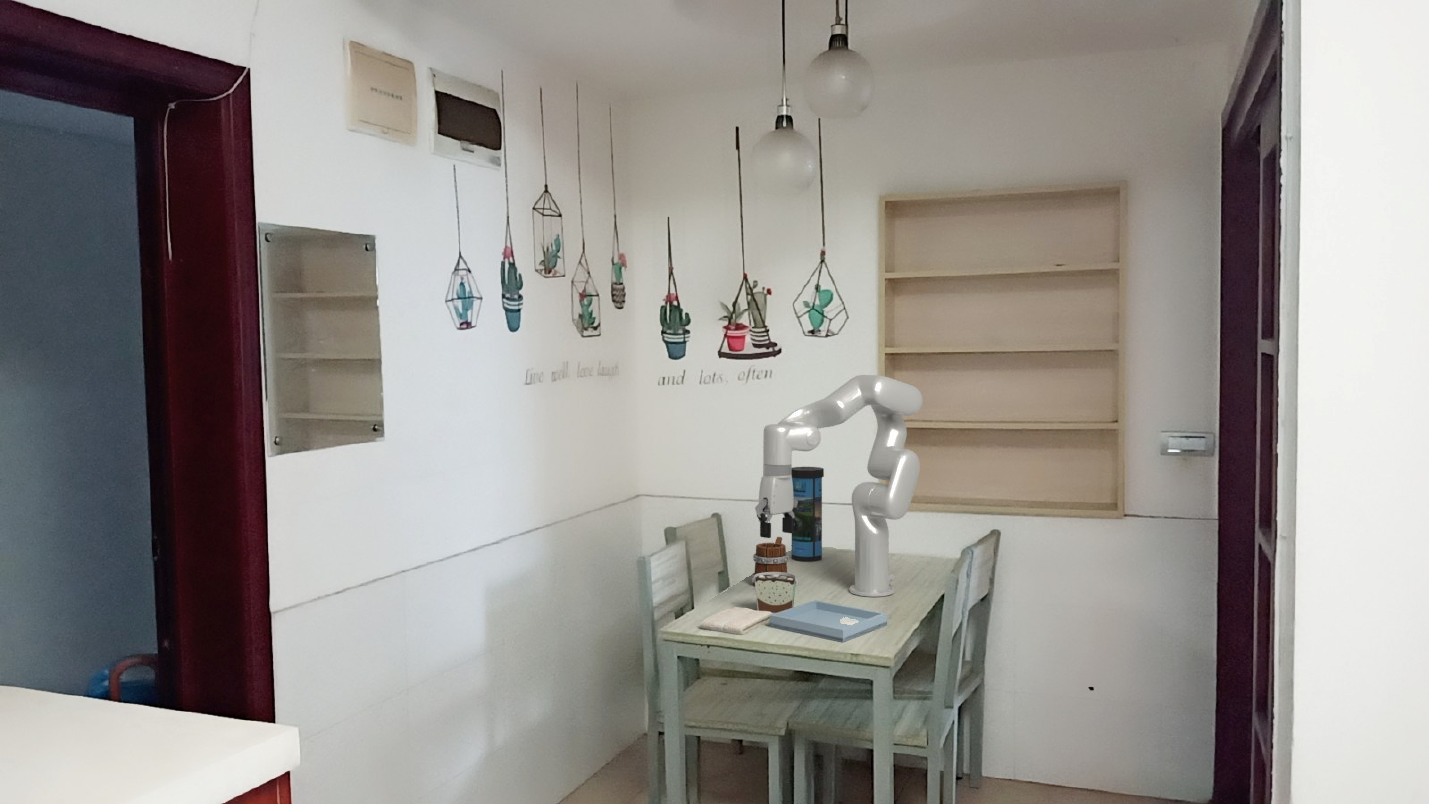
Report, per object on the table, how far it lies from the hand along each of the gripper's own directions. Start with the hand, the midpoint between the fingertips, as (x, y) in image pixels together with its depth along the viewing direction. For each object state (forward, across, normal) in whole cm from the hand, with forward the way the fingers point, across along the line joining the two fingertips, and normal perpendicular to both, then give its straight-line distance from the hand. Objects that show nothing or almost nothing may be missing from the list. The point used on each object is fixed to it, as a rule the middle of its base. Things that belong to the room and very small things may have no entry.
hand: (776, 535), depth 282 cm
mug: (+20, -26, -21) cm, 39 cm away
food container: (+21, -1, 0) cm, 21 cm away
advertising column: (+20, -62, -34) cm, 73 cm away
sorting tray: (+20, +3, +19) cm, 28 cm away
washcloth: (+22, +16, 0) cm, 27 cm away
